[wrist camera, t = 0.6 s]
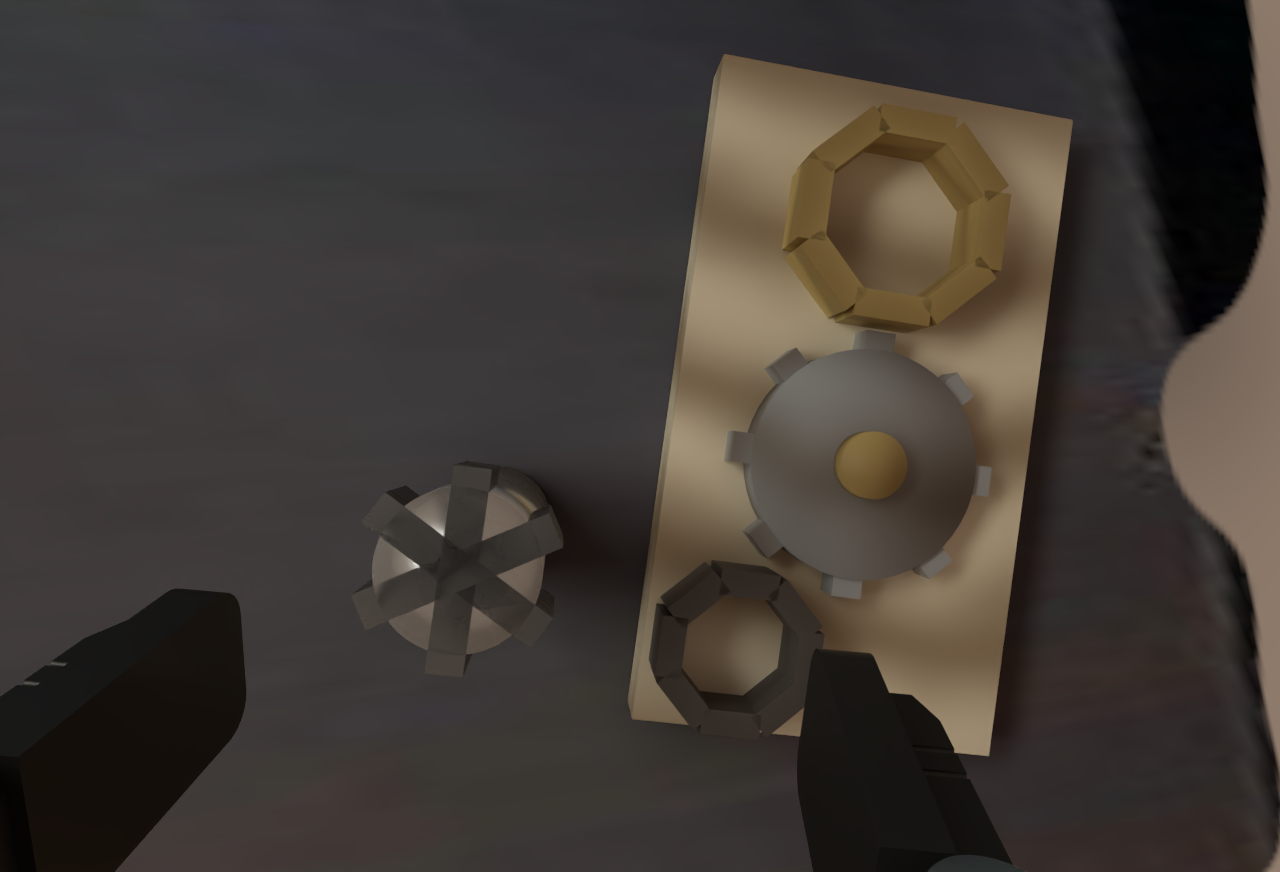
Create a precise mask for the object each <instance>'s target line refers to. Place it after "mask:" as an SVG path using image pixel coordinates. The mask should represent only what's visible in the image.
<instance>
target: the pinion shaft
mask: <svg viewBox="0 0 1280 872" xmlns="http://www.w3.org/2000/svg"><path fill="white" fill-rule="evenodd" d="M361 523H362V524H364V525H365V526H366V527H368V528H369V529H370V530H372V531H373V532H374V533H376V534H377V535H379V536H380V538H379V540H378V543H377V546H376V549H375V553H374V558H373V565H372V579H371V580H370V581H369V582H367V583H366V584H365V585H363V586H362V587H361V588H359V589H358V590H357V591H355V592H354V593H353V594H352V595H351V597H352V599H353V602H354V604H355V606H356V609H357V611H358V613H359V616H360V618H361V621H362V623H363V625H364V628H365V630H367V629H370V628H372V627H374V626H377V625H379V624H382V623H384V622H386V621H388V622H389V623H390V624H391V625H392V626H393V628H394V629H395V630H396V631H397V632H398V633H399V634H401V635H402V636H403V637H404V638H405V639H407V640H408V641H410V642H412V643H413V644H415V645H417V646H419V647H421V648H423V649H426V650H428V652H427V659H426V666H425V673H426V674H435V675H444V676H454V677H463V675H464V673H465V671H466V668H467V666H468V663H469V661H470V658H471V656H472V653H476V652H481V651H483V650H486V649H489V648H491V647H493V646H495V645H497V644H499V643H501V642H503V641H504V640H506V639H507V638H508V637H510V636H511V635H513V636H514V637H515V638H517V639H518V640H519V641H521V642H522V643H523V644H525V645H526V646H527V647H529V648H531V647H532V646H533V644H534V643H535V642H536V640H537V639H538V638H539V636H540V635H541V634H542V633H543V631H544V630H545V629H546V627H547V626H548V625H549V623H550V622H551V621H552V620H553V614H554V597H553V596H552V595H550V594H549V593H548V592H546V591H545V590H544V589H542V588H541V584H542V578H543V571H544V563H545V556H546V555H547V554H549V553H552V552H554V551H556V550H559V549H561V548H563V534H562V531H561V529H560V526H559V524H558V521H557V519H556V516H555V514H554V512H553V509H552V507H551V504H550V505H548V502H547V499H546V497H545V495H544V493H543V491H542V490H541V488H540V487H539V486H538V485H537V483H536V482H535V481H533V480H532V479H531V478H530V477H529V476H527V475H526V474H524V473H522V472H520V471H517V470H514V469H511V468H506V467H500V466H499V465H492V464H484V463H477V462H469V461H465V462H462V463H458V464H454V468H453V475H452V482H451V483H449V484H447V485H445V486H442V487H440V488H438V489H435V490H433V491H431V492H428V493H426V494H424V495H422V496H419V495H418V494H417V493H415V492H414V491H413V490H411V489H410V488H409V487H407V486H403V487H400V488H397V489H394V490H390V491H387V492H385V493H384V494H383V496H382V497H381V498H380V499H379V501H378V502H377V503H376V504H375V506H374V507H373V508H372V509H371V511H370V512H369V513H368V514H367V516H366V517H365V518H364V519H363V521H362V522H361Z"/></svg>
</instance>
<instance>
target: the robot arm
mask: <svg viewBox="0 0 1280 872" xmlns="http://www.w3.org/2000/svg"><path fill="white" fill-rule="evenodd" d="M245 702H246V681H245V668H244V654H243V640H242V626H241V613H240V607H239V603H238V601H237V599H236V598H235V596H234V595H232V594H230V593H222V592H211V591H200V590H190V589H172V590H170V591H168V592H167V593H165V594H164V595H162V596H161V597H160V598H158V599H157V600H155V601H154V602H153V603H151V604H150V605H148V606H147V607H146V608H144V609H143V610H141V611H140V612H139V613H137V614H136V615H134V616H133V617H132V618H130V619H129V620H127V621H124V622H122V623H120V624H117V625H115V626H112V627H110V628H108V629H105V630H103V631H101V632H98V633H96V634H93V635H91V636H89V637H86V638H84V639H83V640H81V641H80V642H79V643H77V644H76V645H74V646H73V647H71V648H70V649H68V650H67V651H66V652H64V653H63V654H61V655H60V656H58V657H57V658H56V659H54V660H53V661H52V664H51V666H46V665H45V666H44V667H43V668H41V669H40V670H38V671H37V672H35V673H34V674H32V675H31V676H30V677H28V678H27V679H25V682H24V684H23V685H17V686H15V687H14V688H12V689H11V690H9V691H8V692H7V693H5V694H4V695H2V696H1V697H0V872H115V871H116V870H117V868H118V867H119V866H120V865H121V864H122V863H123V862H124V860H125V859H126V858H127V857H128V856H129V855H130V854H131V852H132V851H133V850H134V849H135V848H136V847H137V846H138V844H139V843H140V842H141V841H142V840H143V839H144V838H145V836H146V835H147V834H148V833H149V832H150V831H151V830H152V829H153V827H154V826H155V825H156V824H157V823H158V822H159V821H160V819H161V818H162V817H163V816H164V815H165V814H166V813H167V811H168V810H169V809H170V808H171V807H172V806H173V805H174V803H175V802H176V801H177V800H178V799H179V798H180V797H181V796H182V794H183V793H184V792H185V791H186V790H187V789H188V788H189V786H190V785H191V784H192V783H193V782H194V781H195V780H196V778H197V777H198V776H199V775H200V774H201V773H202V772H203V770H204V769H205V768H206V767H207V766H208V765H209V764H210V763H211V761H212V760H213V759H214V758H215V757H216V756H217V755H218V753H219V752H220V751H221V750H222V749H223V748H224V747H225V745H226V744H227V743H228V742H229V741H230V740H231V738H232V737H233V735H234V734H235V732H236V730H237V728H238V726H239V724H240V721H241V719H242V715H243V712H244V708H245ZM966 774H967V773H966V771H965V769H964V767H963V765H962V763H961V761H960V759H959V757H958V755H955V754H954V747H953V745H952V743H951V741H950V739H949V737H948V735H947V733H946V731H945V729H944V727H943V725H942V723H941V721H940V720H939V719H938V718H937V717H936V716H935V715H934V714H932V713H931V712H930V711H929V710H928V709H927V708H926V707H925V706H924V705H923V704H921V703H920V702H919V701H918V700H917V699H916V698H915V697H914V696H913V695H909V694H898V693H889V691H888V689H887V686H886V684H885V681H884V679H883V677H882V674H881V672H880V670H879V667H878V665H877V663H876V660H875V658H874V656H873V655H872V654H871V653H864V652H853V651H842V650H831V649H820V648H816V649H815V650H814V652H813V655H812V659H811V663H810V670H809V677H808V684H807V691H806V698H805V705H804V712H803V719H802V726H801V733H800V740H799V747H798V760H797V782H798V794H799V800H800V805H801V810H802V816H803V821H804V826H805V831H806V836H807V841H808V847H809V852H810V857H811V862H812V867H813V872H1026V871H1024V870H1022V869H1020V868H1018V867H1016V866H1014V865H1013V864H1012V862H1011V860H1010V858H1009V856H1008V854H1007V852H1006V850H1005V848H1004V846H1003V844H1002V842H1001V840H1000V838H999V836H998V834H997V832H996V830H995V829H994V827H993V825H992V823H991V821H990V819H989V817H988V815H987V813H986V811H985V809H984V807H983V805H982V803H981V801H980V799H979V797H978V795H977V793H976V791H975V789H974V787H973V785H972V783H971V781H970V779H967V777H966Z"/></svg>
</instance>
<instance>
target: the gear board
mask: <svg viewBox="0 0 1280 872" xmlns="http://www.w3.org/2000/svg"><path fill="white" fill-rule="evenodd" d="M1072 124H1073V120H1070V119H1065V118H1059V117H1054V116H1049V115H1043V114H1038V113H1033V112H1028V111H1022V110H1017V109H1012V108H1007V107H1001V106H996V105H991V104H986V103H980V102H975V101H970V100H964V99H959V98H954V97H949V96H943V95H938V94H933V93H928V92H922V91H917V90H912V89H906V88H901V87H896V86H891V85H885V84H880V83H875V82H870V81H864V80H859V79H854V78H849V77H843V76H838V75H833V74H827V73H822V72H817V71H812V70H806V69H801V68H796V67H791V66H785V65H780V64H775V63H769V62H764V61H759V60H754V59H748V58H743V57H738V56H733V55H727V54H724V55H723V57H722V60H721V62H720V65H719V67H718V69H717V72H716V74H715V76H714V80H713V87H712V95H711V102H710V109H709V116H708V123H707V131H706V138H705V145H704V152H703V160H702V167H701V174H700V181H699V189H698V196H697V203H696V210H695V218H694V225H693V232H692V239H691V247H690V254H689V261H688V268H687V275H686V283H685V290H684V297H683V304H682V312H681V319H680V326H679V333H678V341H677V348H676V355H675V362H674V370H673V377H672V384H671V391H670V398H669V406H668V413H667V420H666V427H665V435H664V442H663V449H662V456H661V464H660V471H659V478H658V485H657V493H656V500H655V507H654V514H653V522H652V529H651V536H650V543H649V550H648V558H647V565H646V572H645V579H644V587H643V594H642V601H641V608H640V616H639V623H638V630H637V637H636V645H635V652H634V659H633V666H632V673H631V681H630V688H629V695H628V704H629V708H630V712H631V716H632V719H637V720H647V721H656V722H666V723H675V724H685V725H689V726H690V727H691V729H692V730H694V729H696V728H697V729H698V731H699V734H701V735H710V736H720V737H730V738H739V739H749V740H759V734H760V732H762V733H763V735H764V736H765V737H766V738H767V737H768V736H769V735H771V734H781V735H791V736H800V733H801V726H802V719H803V712H804V705H805V698H806V691H807V684H808V677H809V670H810V663H811V659H812V655H813V652H814V650H815V649H816V648H820V649H831V650H842V651H853V652H864V653H871V654H872V655H873V656H874V658H875V660H876V663H877V665H878V667H879V670H880V672H881V674H882V677H883V679H884V681H885V684H886V686H887V689H888V691H889V693H898V694H909V695H913V696H914V697H915V698H916V699H917V700H918V701H919V702H920V703H921V704H923V705H924V706H925V707H926V708H927V709H928V710H929V711H930V712H931V713H932V714H934V715H935V716H936V717H937V718H938V719H939V720H940V721H941V723H942V725H943V727H944V729H945V731H946V733H947V735H948V737H949V739H950V741H951V743H952V745H953V747H954V753H963V754H973V755H983V756H989V751H990V743H991V736H992V728H993V720H994V713H995V705H996V698H997V690H998V683H999V675H1000V668H1001V660H1002V652H1003V645H1004V637H1005V630H1006V622H1007V615H1008V607H1009V600H1010V592H1011V584H1012V577H1013V569H1014V562H1015V554H1016V547H1017V539H1018V532H1019V524H1020V516H1021V509H1022V501H1023V494H1024V486H1025V479H1026V471H1027V464H1028V456H1029V449H1030V441H1031V433H1032V426H1033V418H1034V411H1035V403H1036V396H1037V388H1038V381H1039V373H1040V365H1041V358H1042V350H1043V343H1044V335H1045V328H1046V320H1047V313H1048V305H1049V297H1050V290H1051V282H1052V275H1053V267H1054V260H1055V252H1056V245H1057V237H1058V230H1059V222H1060V214H1061V207H1062V199H1063V192H1064V184H1065V177H1066V169H1067V162H1068V154H1069V146H1070V139H1071V131H1072Z"/></svg>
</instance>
